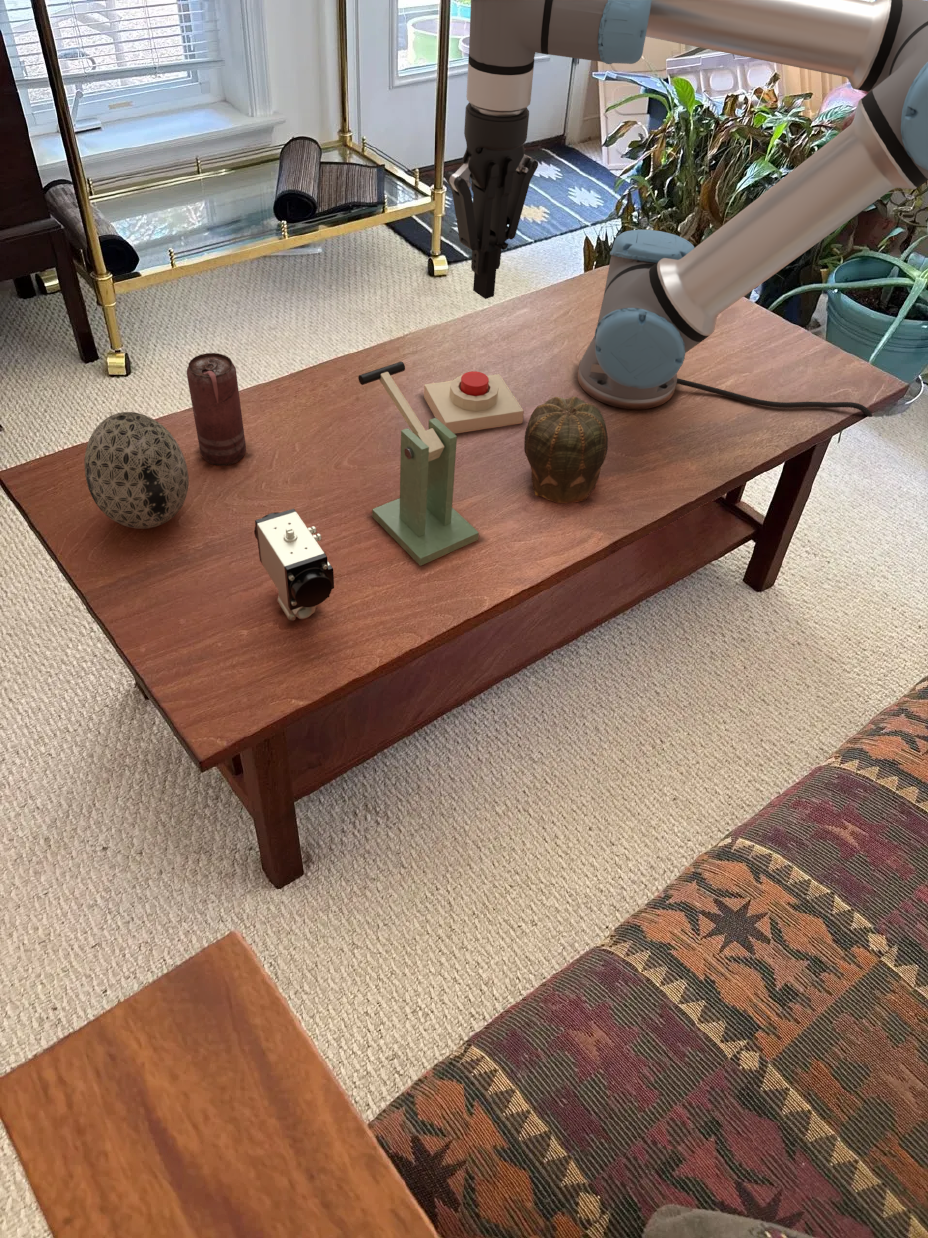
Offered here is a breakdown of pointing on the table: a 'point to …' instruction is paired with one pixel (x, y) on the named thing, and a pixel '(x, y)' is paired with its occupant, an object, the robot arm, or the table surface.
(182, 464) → the decorative egg
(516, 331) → the table surface
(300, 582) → the pneumatic valve
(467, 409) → the control box
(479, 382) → the button
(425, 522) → the bracket
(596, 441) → the dark green ribbed dome
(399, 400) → the lever
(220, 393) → the can
